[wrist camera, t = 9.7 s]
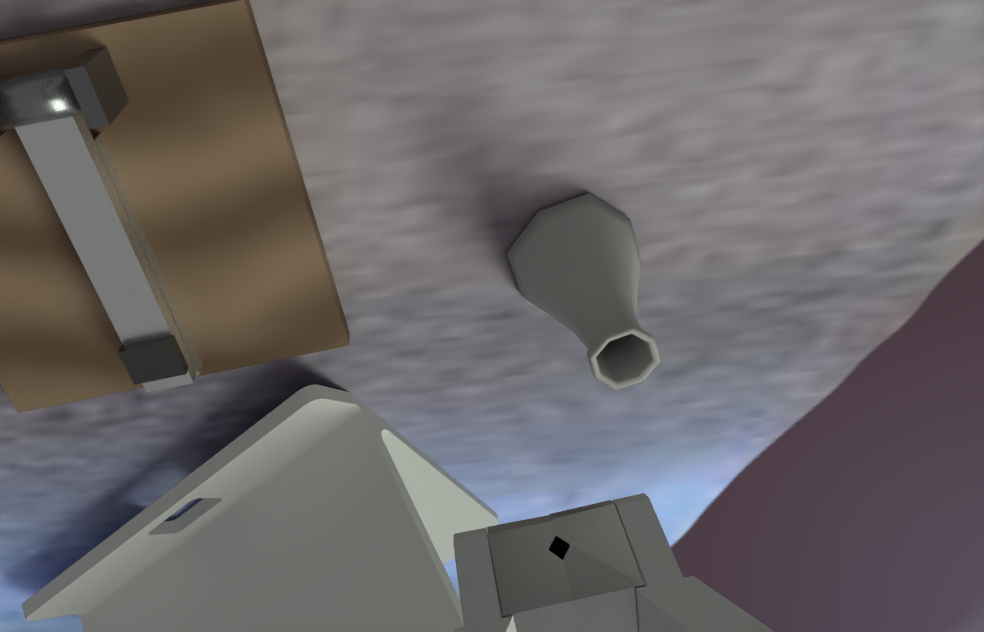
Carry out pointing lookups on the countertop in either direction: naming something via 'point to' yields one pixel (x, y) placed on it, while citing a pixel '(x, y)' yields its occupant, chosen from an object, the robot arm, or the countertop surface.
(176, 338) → the upper tong arm
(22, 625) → the countertop surface
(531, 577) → the robot arm
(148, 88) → the walnut board
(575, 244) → the flask
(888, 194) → the countertop surface
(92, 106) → the lower tong arm
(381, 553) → the tablet stand
